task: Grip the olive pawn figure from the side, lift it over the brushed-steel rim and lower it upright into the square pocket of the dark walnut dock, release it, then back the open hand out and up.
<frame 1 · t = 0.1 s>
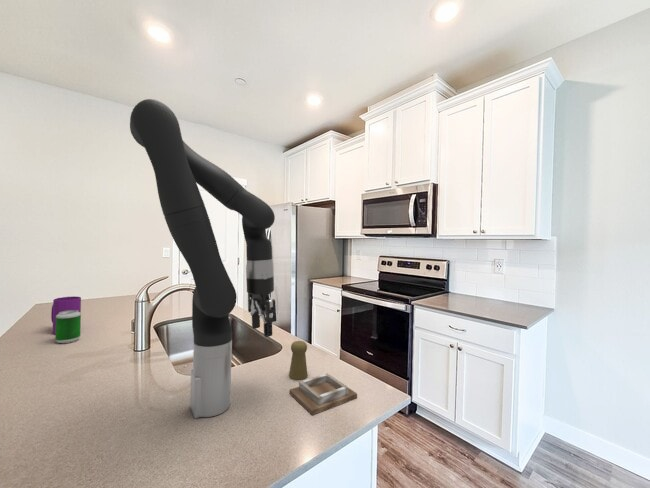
hand: (261, 332, 81), 17 cm above the countertop, tool pointing down, fingers open, 8 cm apart
mug: (62, 331, 128), on the countertop
spice dock: (323, 395, 81), on the countertop
olive pawn figure: (298, 376, 92), on the countertop
soda can: (68, 341, 116), on the countertop
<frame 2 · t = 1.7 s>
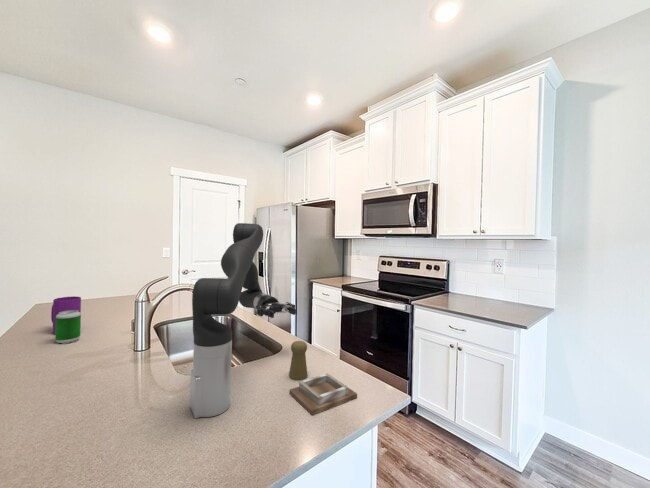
hand: (284, 313, 101), 18 cm above the countertop, tool horizontal, fingers open, 8 cm apart
nothing on the countertop moved.
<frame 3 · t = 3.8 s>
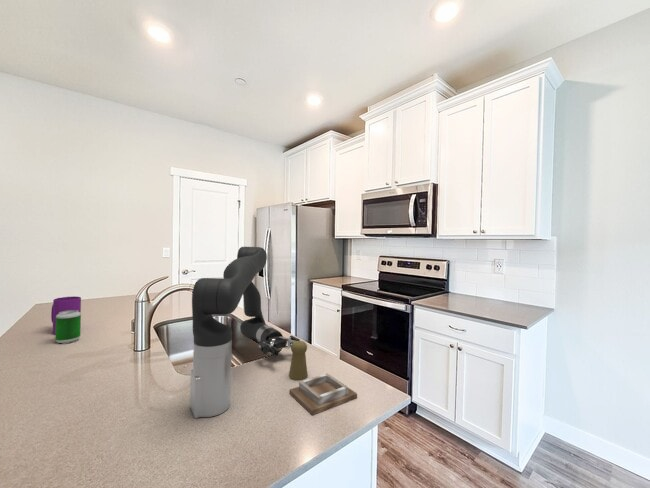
hand: (289, 350, 97), 6 cm above the countertop, tool horizontal, fingers open, 8 cm apart
nothing on the countertop moved.
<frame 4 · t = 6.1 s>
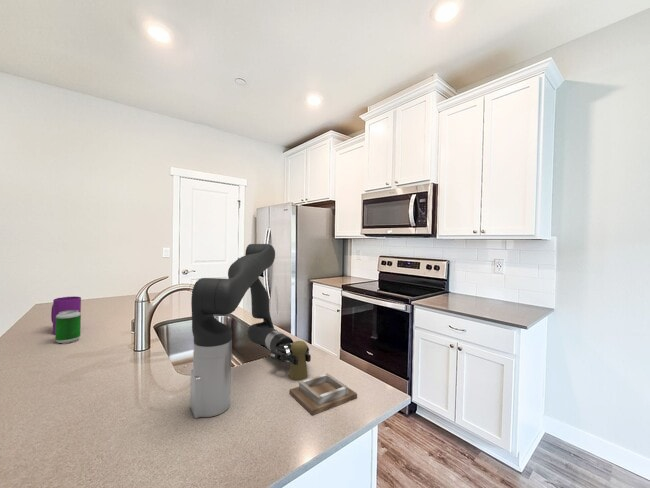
hand: (303, 360, 90), 6 cm above the countertop, tool horizontal, fingers closed on olive pawn figure, 4 cm apart
olive pawn figure: (298, 376, 92), on the countertop, touching gripper
everything else where it was.
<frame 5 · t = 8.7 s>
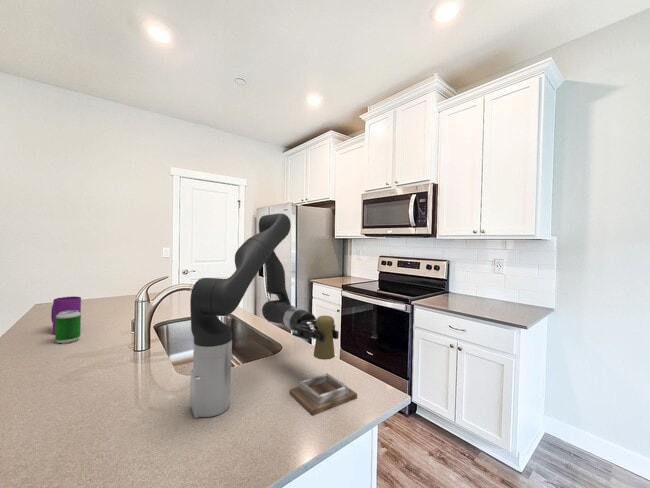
hand: (330, 336, 78), 17 cm above the countertop, tool horizontal, fingers closed on olive pawn figure, 4 cm apart
olive pawn figure: (324, 355, 81), point 11 cm above the countertop, touching gripper
everything else where it was.
when the fingers open (8 cm above the countertop, at t = 11.2 s): olive pawn figure stays where it is, resting on spice dock.
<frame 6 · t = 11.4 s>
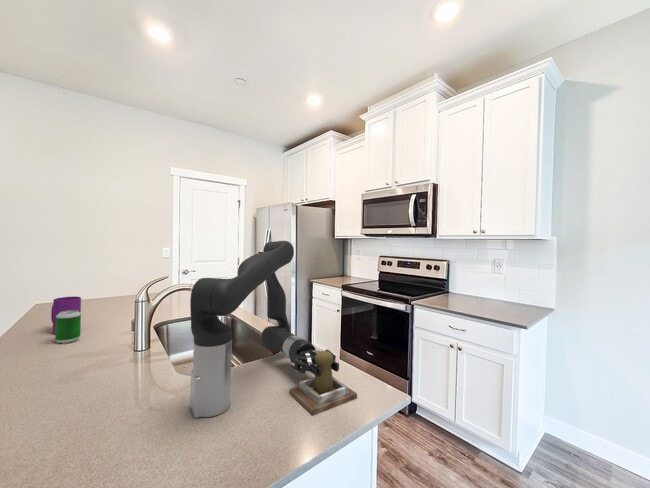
hand: (329, 370, 78), 8 cm above the countertop, tool horizontal, fingers open, 5 cm apart
olive pawn figure: (323, 391, 81), point 1 cm above the countertop, touching spice dock
everything else where it was.
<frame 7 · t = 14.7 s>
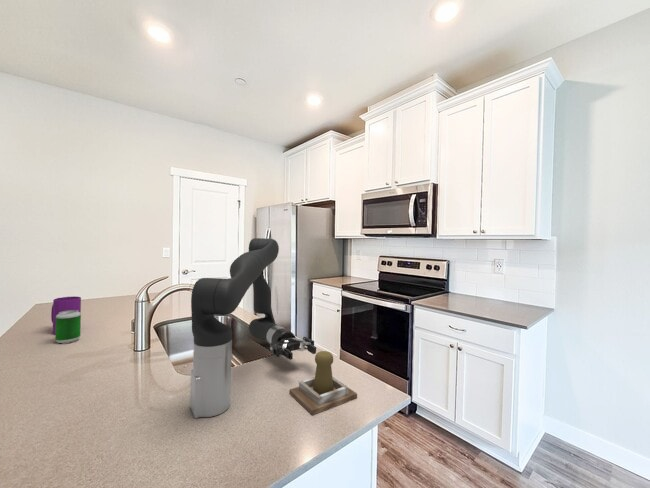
hand: (303, 353, 89), 8 cm above the countertop, tool horizontal, fingers open, 8 cm apart
nothing on the countertop moved.
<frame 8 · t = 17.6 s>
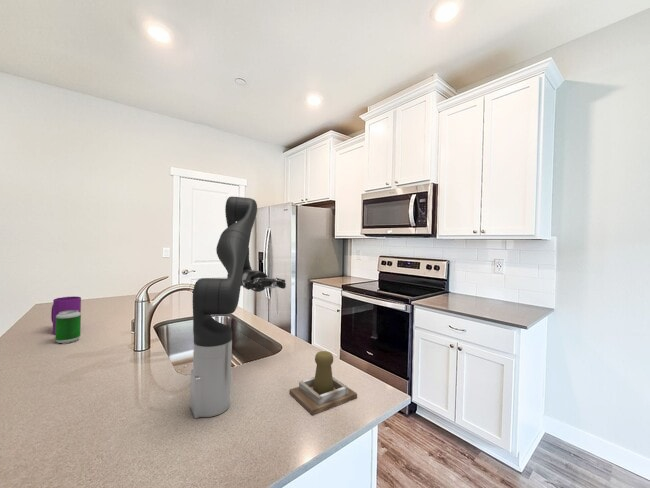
hand: (272, 286, 96), 28 cm above the countertop, tool horizontal, fingers open, 8 cm apart
nothing on the countertop moved.
at the end: olive pawn figure 0.1 cm off-centre on the spice dock, point 1.0 cm above the spice dock's base; olive pawn figure tilted 0°; the gripper is holding nothing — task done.
